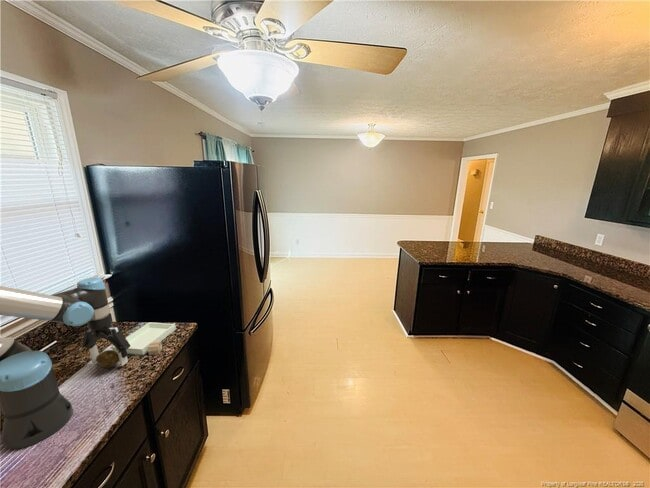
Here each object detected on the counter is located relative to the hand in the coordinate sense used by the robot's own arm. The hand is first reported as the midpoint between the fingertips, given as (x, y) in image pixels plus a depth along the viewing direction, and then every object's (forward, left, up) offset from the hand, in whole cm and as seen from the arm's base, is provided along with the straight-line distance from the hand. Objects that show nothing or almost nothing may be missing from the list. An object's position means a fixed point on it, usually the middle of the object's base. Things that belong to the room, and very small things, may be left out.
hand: (110, 362), depth 109 cm
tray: (+18, -1, -1) cm, 18 cm away
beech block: (+10, -12, -1) cm, 16 cm away
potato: (0, 0, -2) cm, 2 cm away
